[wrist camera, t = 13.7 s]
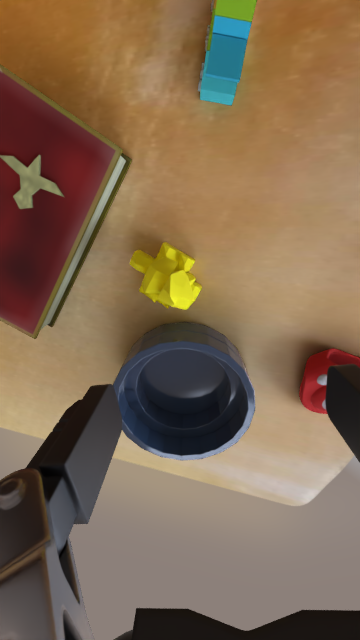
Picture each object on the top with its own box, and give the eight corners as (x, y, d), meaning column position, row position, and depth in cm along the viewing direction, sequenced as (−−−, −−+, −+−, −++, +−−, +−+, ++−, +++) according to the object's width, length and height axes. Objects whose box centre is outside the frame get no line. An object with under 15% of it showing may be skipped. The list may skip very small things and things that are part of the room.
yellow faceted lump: (147, 231, 27) (131, 233, 20) (211, 268, 28) (217, 283, 21) (124, 278, 29) (102, 295, 22) (185, 311, 30) (182, 338, 23)
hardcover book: (-41, 274, 30) (-76, 281, 26) (18, 81, 23) (-18, 51, 19) (53, 326, 32) (33, 340, 28) (132, 160, 25) (121, 147, 21)
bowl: (113, 328, 31) (95, 350, 26) (240, 313, 30) (251, 333, 24) (138, 427, 37) (128, 464, 31) (247, 418, 35) (257, 455, 30)
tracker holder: (318, 429, 34) (286, 391, 29) (308, 400, 37) (277, 362, 33) (429, 401, 28) (410, 350, 24) (405, 370, 32) (384, 320, 27)
